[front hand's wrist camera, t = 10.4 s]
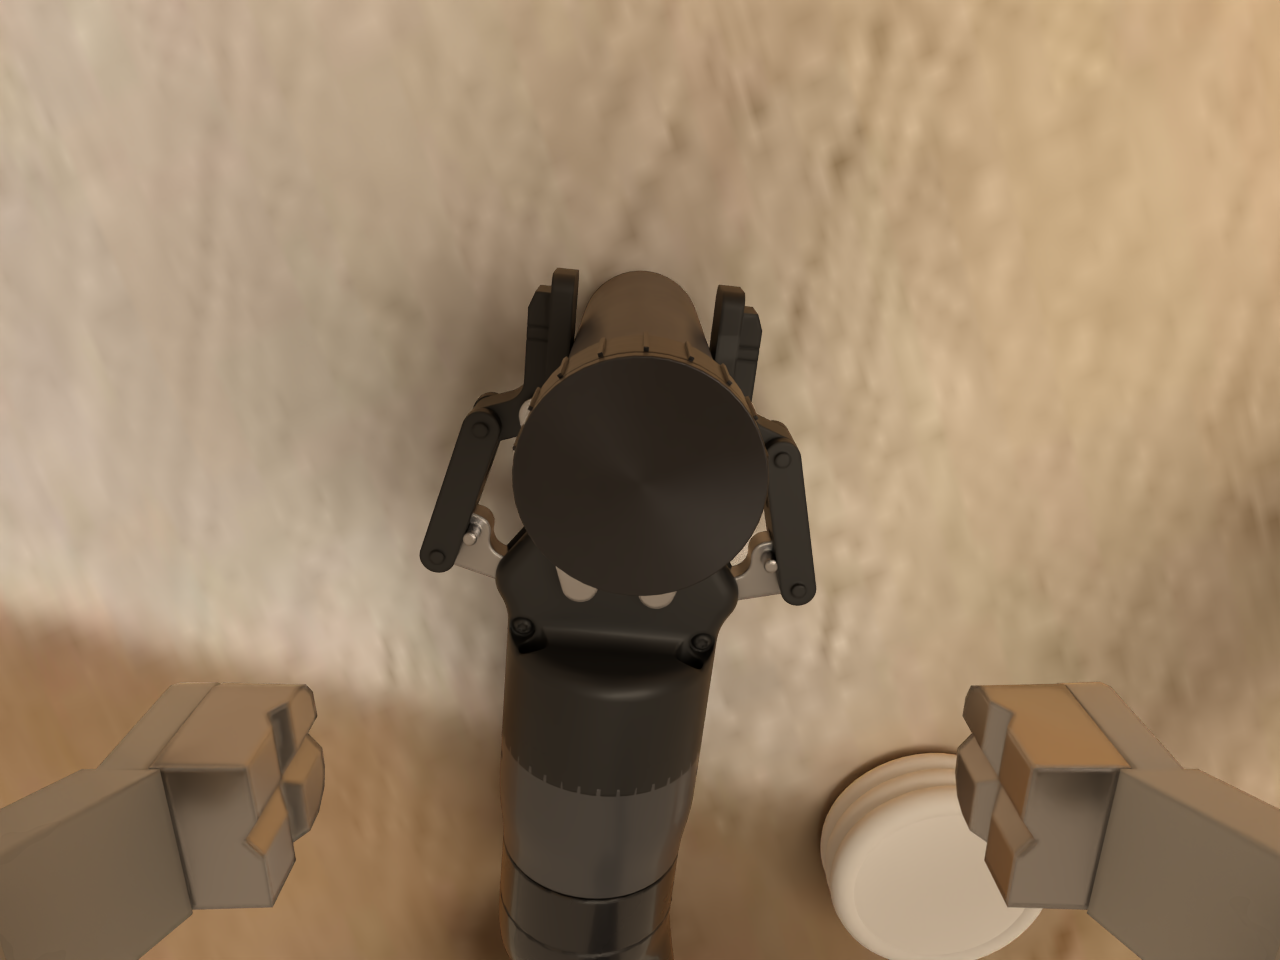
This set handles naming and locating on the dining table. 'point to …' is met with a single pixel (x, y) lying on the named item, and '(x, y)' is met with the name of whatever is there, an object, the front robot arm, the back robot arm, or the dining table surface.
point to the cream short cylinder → (914, 867)
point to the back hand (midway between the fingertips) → (648, 282)
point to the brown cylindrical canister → (640, 312)
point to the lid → (640, 466)
